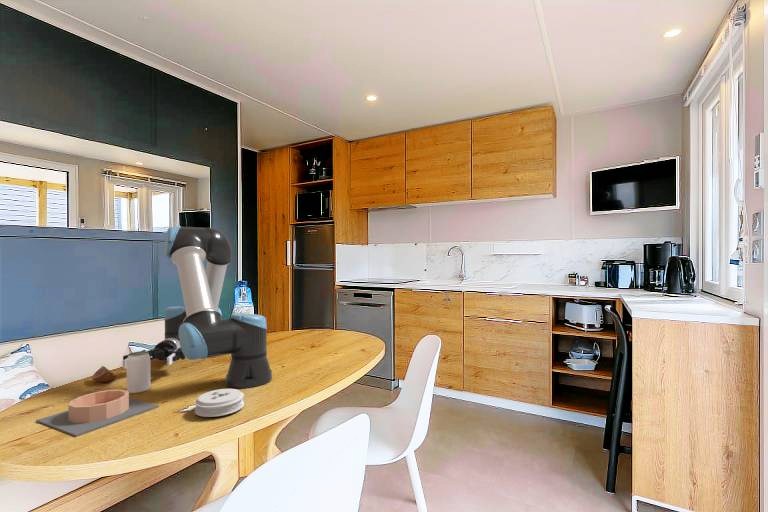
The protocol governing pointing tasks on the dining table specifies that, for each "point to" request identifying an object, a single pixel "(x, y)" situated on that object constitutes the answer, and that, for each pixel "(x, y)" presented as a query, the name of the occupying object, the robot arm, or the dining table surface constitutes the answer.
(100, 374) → the fruit slice
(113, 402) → the bowl
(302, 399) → the dining table surface
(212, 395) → the lid
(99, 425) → the mat
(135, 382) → the can
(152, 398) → the dining table surface
